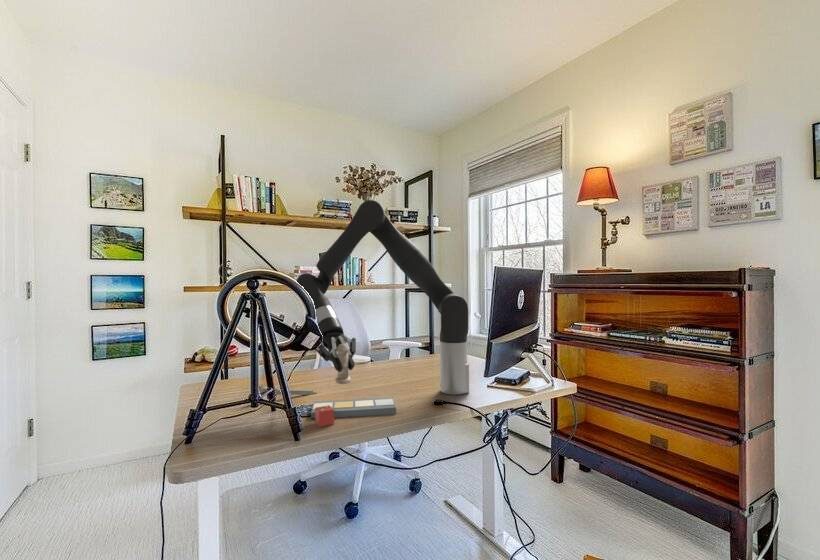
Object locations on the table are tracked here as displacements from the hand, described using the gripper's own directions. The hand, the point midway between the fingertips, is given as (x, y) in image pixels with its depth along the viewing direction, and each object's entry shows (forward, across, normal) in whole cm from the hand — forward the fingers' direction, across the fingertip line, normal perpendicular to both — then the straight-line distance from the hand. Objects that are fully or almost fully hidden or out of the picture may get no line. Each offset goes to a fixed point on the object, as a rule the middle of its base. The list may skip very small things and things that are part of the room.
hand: (346, 369), depth 117 cm
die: (+11, -9, +7) cm, 16 cm away
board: (+9, +3, +9) cm, 13 cm away
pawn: (+2, 0, +4) cm, 5 cm away
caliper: (-8, -8, +28) cm, 30 cm away
